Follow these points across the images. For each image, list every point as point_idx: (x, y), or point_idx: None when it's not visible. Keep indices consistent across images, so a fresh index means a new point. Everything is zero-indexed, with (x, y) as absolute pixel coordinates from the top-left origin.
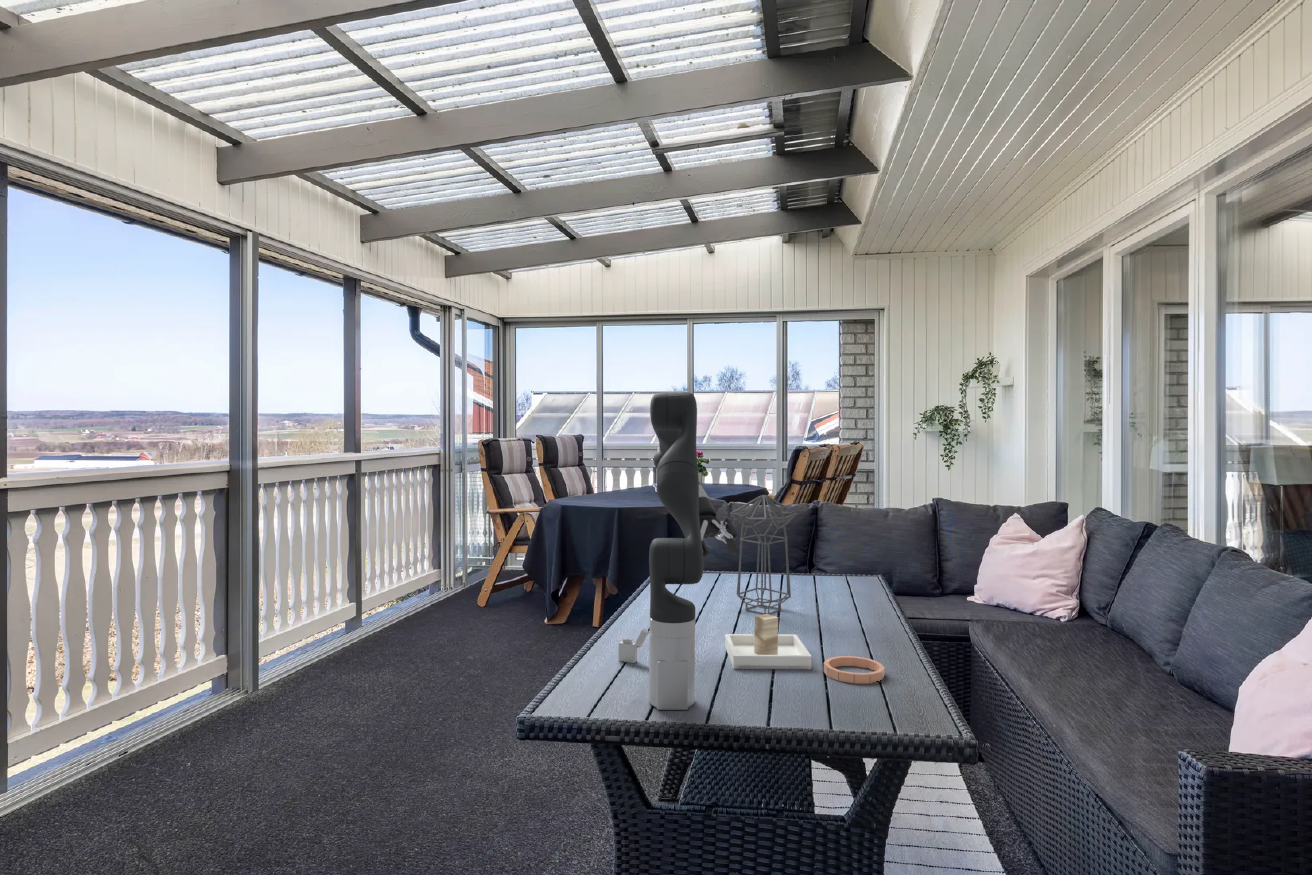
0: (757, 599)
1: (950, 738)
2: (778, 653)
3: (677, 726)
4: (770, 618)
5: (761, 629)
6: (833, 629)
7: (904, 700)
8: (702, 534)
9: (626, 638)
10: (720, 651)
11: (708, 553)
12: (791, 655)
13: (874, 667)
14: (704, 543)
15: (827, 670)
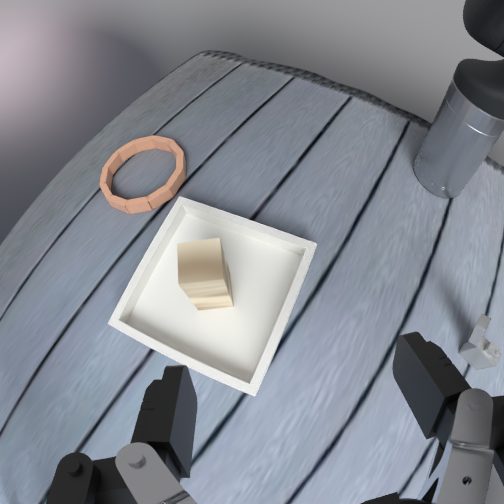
0: None
1: (209, 52)
2: None
3: None
4: (200, 242)
5: (224, 262)
6: (8, 379)
7: (169, 102)
8: (462, 443)
9: (495, 353)
10: (286, 363)
11: (401, 337)
12: (208, 210)
13: (110, 174)
14: (436, 381)
15: (183, 172)
